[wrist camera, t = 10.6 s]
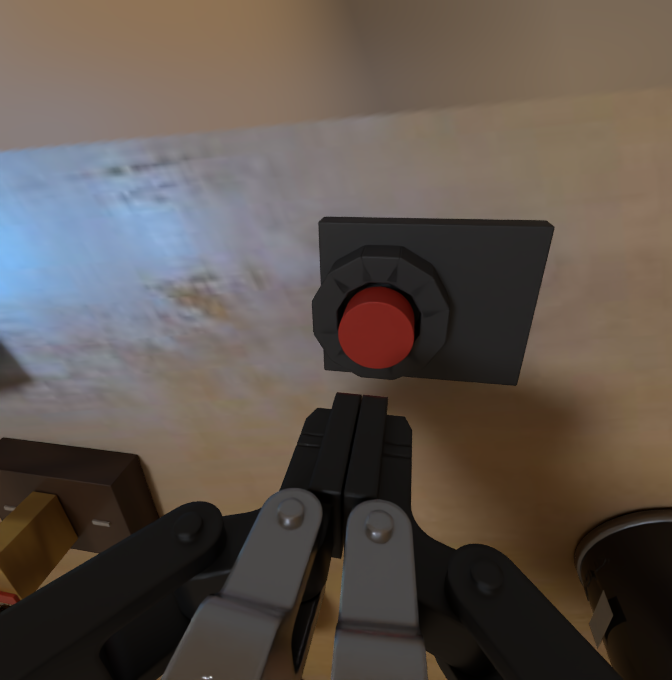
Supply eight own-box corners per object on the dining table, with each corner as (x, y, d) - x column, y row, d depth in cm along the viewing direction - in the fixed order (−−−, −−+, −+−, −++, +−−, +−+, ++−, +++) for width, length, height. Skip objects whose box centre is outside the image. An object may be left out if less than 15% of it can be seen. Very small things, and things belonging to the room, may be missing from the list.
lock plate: (137, 454, 30) (109, 487, 27) (162, 528, 34) (140, 563, 32) (2, 437, 32) (-36, 466, 29) (41, 508, 36) (11, 540, 34)
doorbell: (547, 220, 18) (569, 237, 15) (512, 373, 21) (525, 408, 19) (322, 216, 19) (307, 231, 17) (327, 358, 23) (316, 389, 20)
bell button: (417, 287, 17) (417, 304, 16) (412, 351, 19) (411, 371, 17) (344, 284, 18) (336, 299, 16) (344, 347, 19) (338, 366, 18)
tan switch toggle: (32, 490, 30) (-37, 558, 25) (56, 494, 29) (-10, 563, 25) (56, 534, 32) (-3, 602, 27) (78, 538, 32) (22, 608, 27)
